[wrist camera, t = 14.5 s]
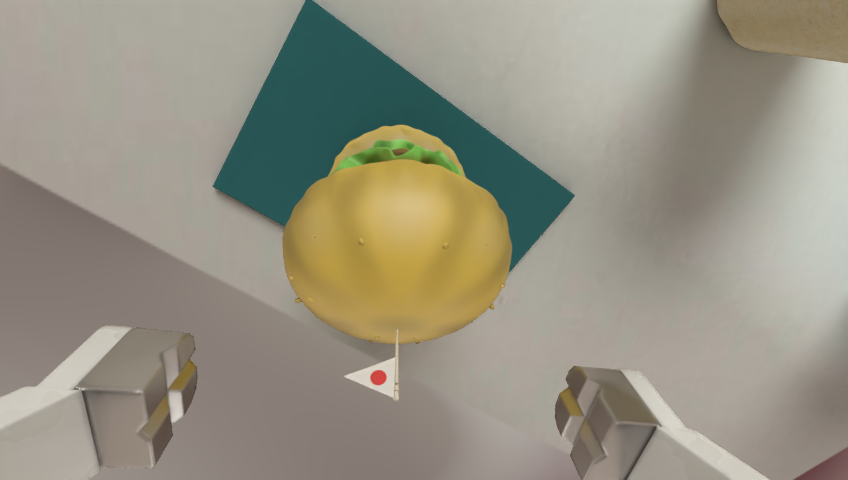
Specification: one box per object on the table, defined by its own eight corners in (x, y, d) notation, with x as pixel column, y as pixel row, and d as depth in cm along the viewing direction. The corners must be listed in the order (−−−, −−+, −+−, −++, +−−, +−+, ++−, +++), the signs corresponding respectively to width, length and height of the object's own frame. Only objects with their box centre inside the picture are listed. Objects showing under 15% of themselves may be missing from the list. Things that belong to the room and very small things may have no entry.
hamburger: (480, 123, 19) (590, 204, 8) (462, 254, 22) (527, 441, 11) (320, 111, 19) (214, 183, 8) (324, 248, 22) (250, 441, 11)
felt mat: (215, 184, 20) (212, 186, 20) (309, -2, 17) (307, -4, 17) (463, 321, 25) (464, 324, 24) (572, 193, 22) (575, 195, 21)
